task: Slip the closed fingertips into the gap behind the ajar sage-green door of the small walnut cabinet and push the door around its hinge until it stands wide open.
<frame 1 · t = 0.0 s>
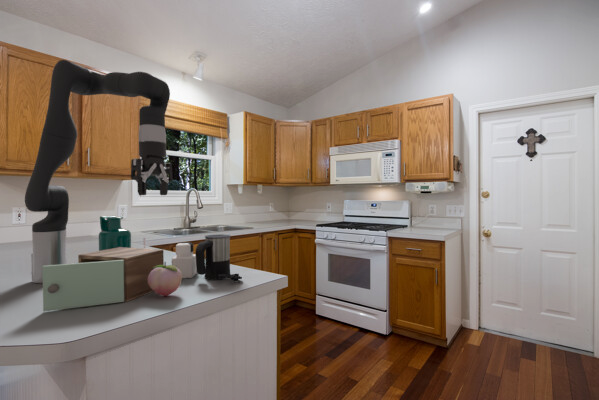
hand: (153, 195, 94), 29 cm above the counter, tool pointing down, fingers open, 8 cm apart
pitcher: (114, 278, 111), on the counter
medicine bottle: (184, 276, 112), on the counter
cabinet door: (84, 284, 80), point 6 cm above the counter, hinge at 40.0°
cabinet: (123, 291, 94), on the counter
milk frother: (223, 279, 107), on the counter
decorative fruit: (166, 296, 89), on the counter
smoothie: (143, 276, 112), on the counter
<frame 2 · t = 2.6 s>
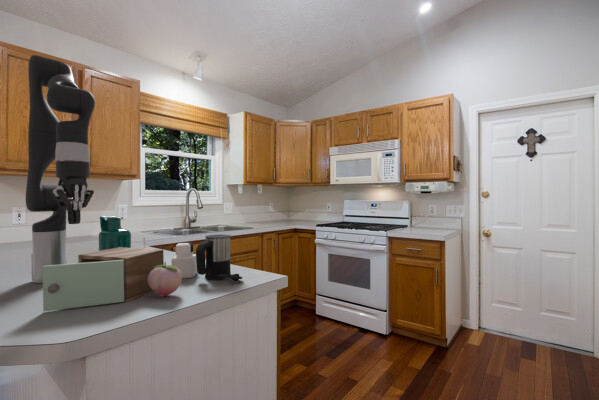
hand: (74, 223, 84), 22 cm above the counter, tool pointing down, fingers closed
nothing on the counter moved.
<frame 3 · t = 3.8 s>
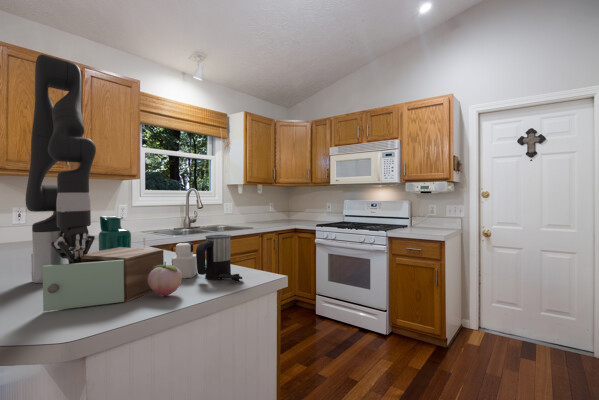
hand: (75, 272, 85), 8 cm above the counter, tool pointing down, fingers closed
nothing on the counter moved.
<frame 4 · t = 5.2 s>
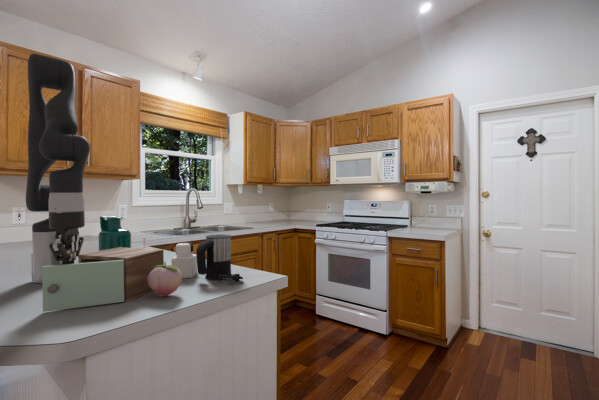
hand: (68, 275, 82), 8 cm above the counter, tool pointing down, fingers closed
cabinet door: (84, 285, 80), point 6 cm above the counter, hinge at 41.0°, touching gripper
everything else where it was.
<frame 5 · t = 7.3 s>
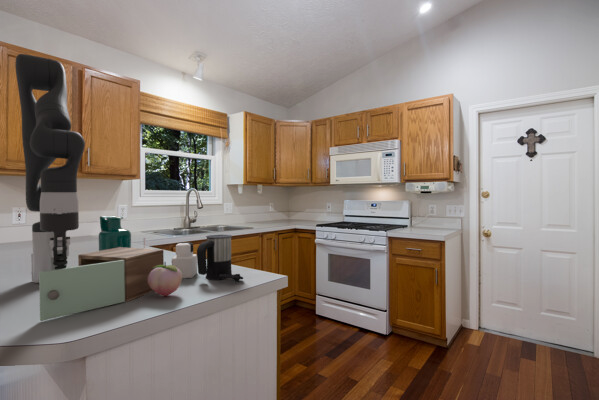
hand: (60, 280, 76), 8 cm above the counter, tool pointing down, fingers closed
cabinet door: (85, 288, 77), point 6 cm above the counter, hinge at 64.6°, touching gripper
everything else where it was.
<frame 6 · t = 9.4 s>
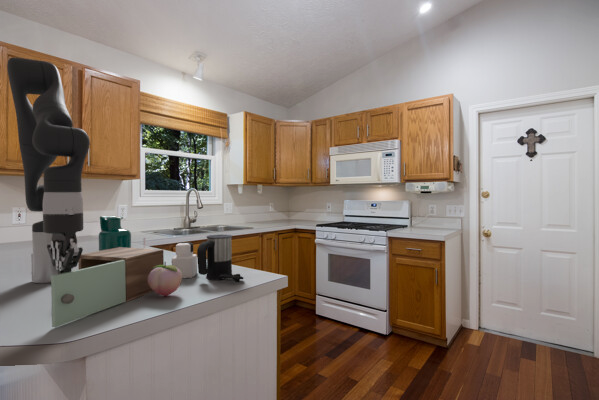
hand: (64, 285, 73), 8 cm above the counter, tool pointing down, fingers closed
cabinet door: (94, 290, 75), point 6 cm above the counter, hinge at 87.5°, touching gripper
everything else where it was.
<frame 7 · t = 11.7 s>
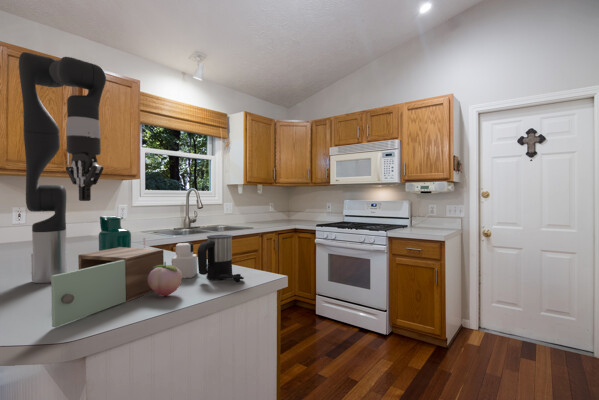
hand: (84, 200, 83), 28 cm above the counter, tool pointing down, fingers closed
cabinet door: (94, 290, 75), point 6 cm above the counter, hinge at 87.6°
everything else where it was.
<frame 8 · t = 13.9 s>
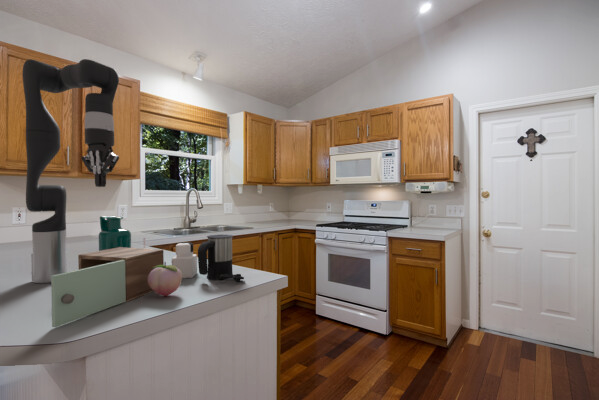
hand: (100, 186, 94), 32 cm above the counter, tool pointing down, fingers closed
nothing on the counter moved.
at the end: cabinet door at +88° (first picture: +40°) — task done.
